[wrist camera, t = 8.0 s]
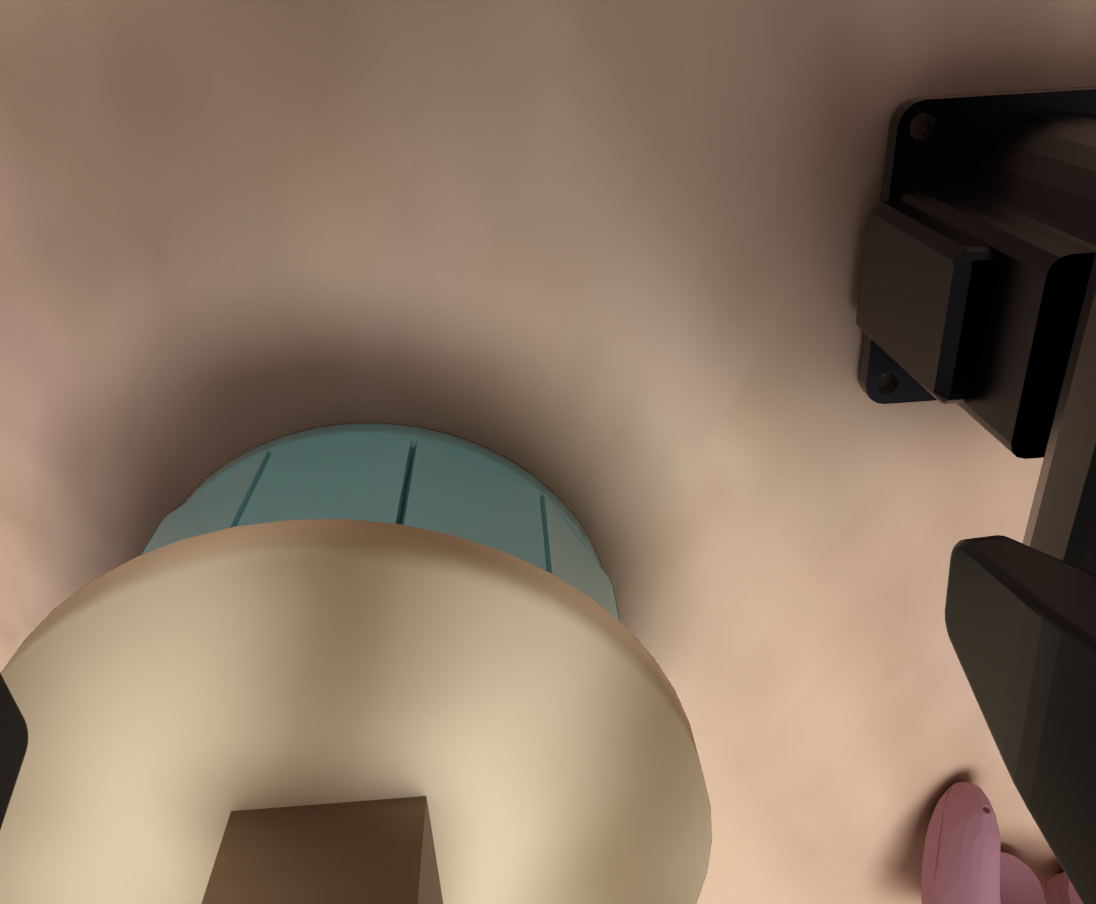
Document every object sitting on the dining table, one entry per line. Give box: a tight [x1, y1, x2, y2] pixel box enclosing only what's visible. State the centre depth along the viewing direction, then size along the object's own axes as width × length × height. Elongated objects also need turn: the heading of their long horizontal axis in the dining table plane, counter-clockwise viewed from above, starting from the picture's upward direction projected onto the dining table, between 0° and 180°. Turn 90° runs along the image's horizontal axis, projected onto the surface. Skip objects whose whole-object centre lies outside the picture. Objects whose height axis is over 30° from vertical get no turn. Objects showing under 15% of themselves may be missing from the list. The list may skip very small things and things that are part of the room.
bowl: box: [140, 423, 620, 622], centre depth 21 cm, size 12×12×6 cm
